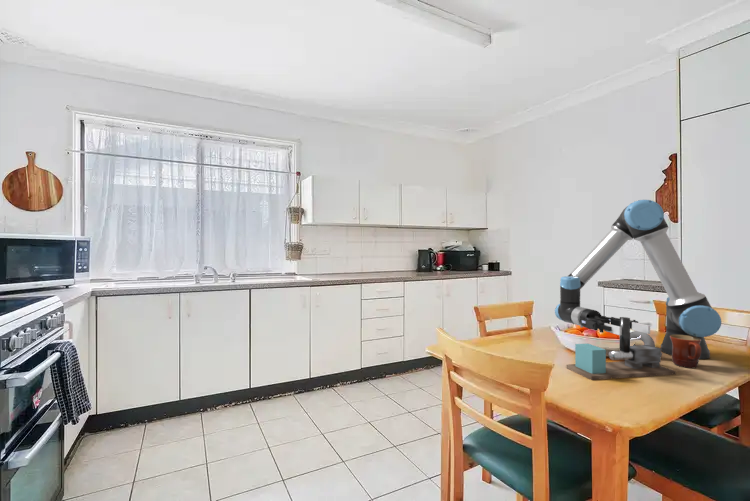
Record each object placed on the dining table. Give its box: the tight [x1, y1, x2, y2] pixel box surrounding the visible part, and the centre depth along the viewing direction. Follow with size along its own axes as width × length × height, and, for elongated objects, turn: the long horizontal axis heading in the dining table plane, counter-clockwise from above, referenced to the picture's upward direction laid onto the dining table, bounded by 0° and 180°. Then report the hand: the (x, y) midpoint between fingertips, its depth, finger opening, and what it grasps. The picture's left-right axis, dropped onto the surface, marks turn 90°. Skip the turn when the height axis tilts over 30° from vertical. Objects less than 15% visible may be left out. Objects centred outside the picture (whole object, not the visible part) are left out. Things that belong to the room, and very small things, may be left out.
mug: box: [670, 335, 701, 369], centre depth 131 cm, size 12×9×10 cm
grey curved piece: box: [630, 330, 656, 347], centre depth 144 cm, size 10×4×10 cm, turn 40°
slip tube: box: [608, 316, 663, 361], centre depth 128 cm, size 18×3×14 cm, turn 99°
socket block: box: [574, 343, 607, 374], centre depth 125 cm, size 5×8×8 cm, turn 9°
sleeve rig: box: [565, 344, 677, 381], centre depth 127 cm, size 32×12×8 cm, turn 99°
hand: (635, 330), depth 123 cm, fingers open, 10 cm apart
